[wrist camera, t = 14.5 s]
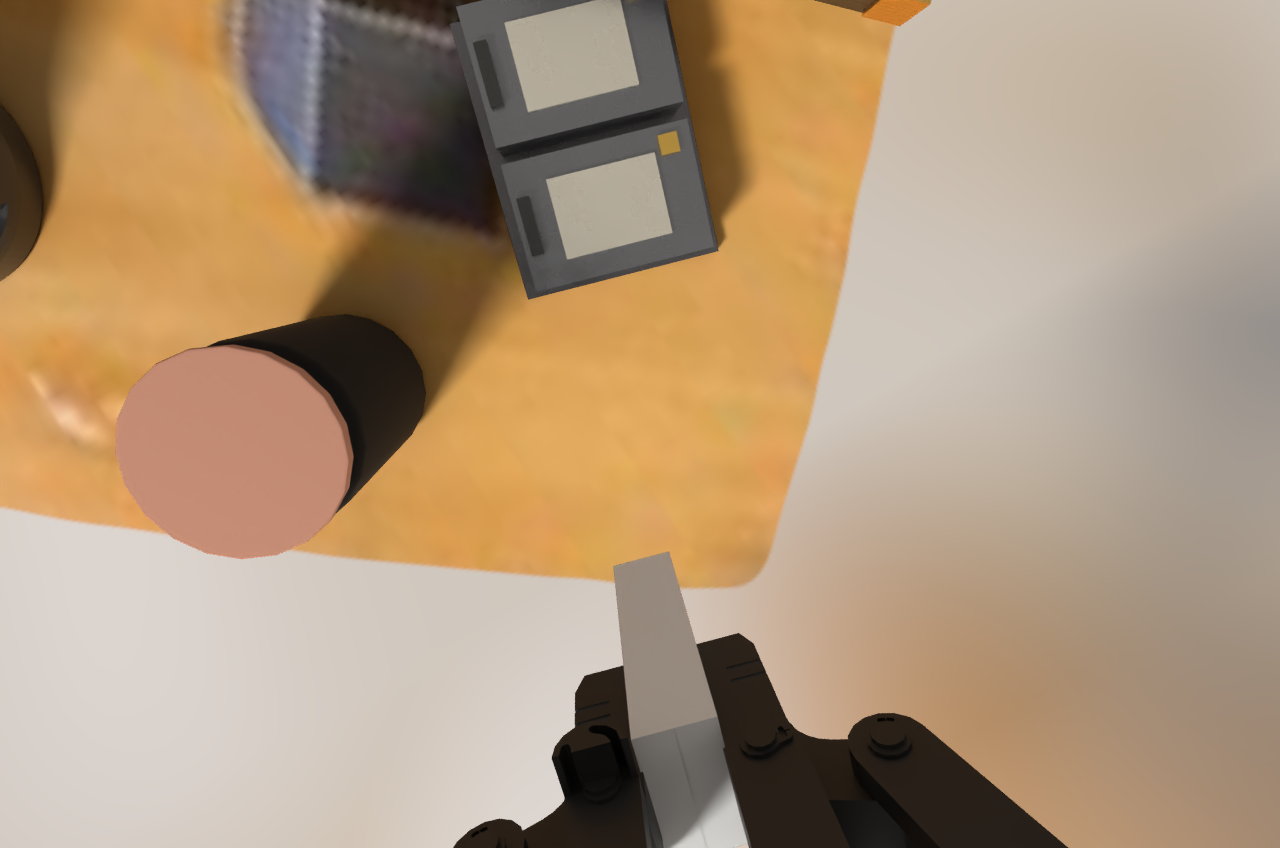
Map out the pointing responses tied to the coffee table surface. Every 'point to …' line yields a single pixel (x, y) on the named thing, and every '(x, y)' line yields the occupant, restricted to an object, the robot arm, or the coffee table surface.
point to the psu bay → (586, 136)
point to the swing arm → (883, 8)
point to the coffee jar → (267, 432)
